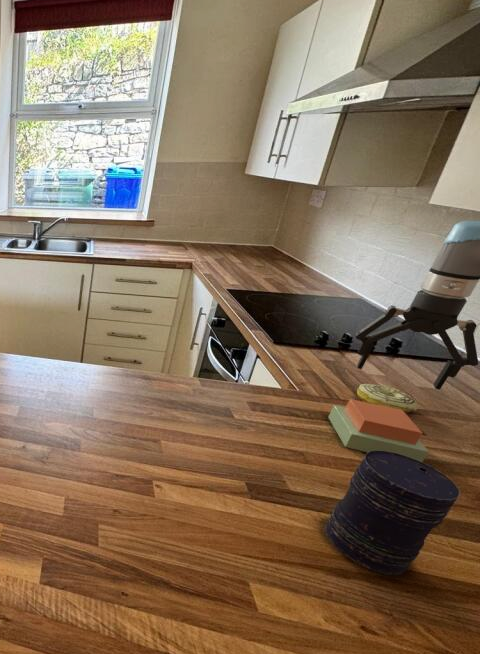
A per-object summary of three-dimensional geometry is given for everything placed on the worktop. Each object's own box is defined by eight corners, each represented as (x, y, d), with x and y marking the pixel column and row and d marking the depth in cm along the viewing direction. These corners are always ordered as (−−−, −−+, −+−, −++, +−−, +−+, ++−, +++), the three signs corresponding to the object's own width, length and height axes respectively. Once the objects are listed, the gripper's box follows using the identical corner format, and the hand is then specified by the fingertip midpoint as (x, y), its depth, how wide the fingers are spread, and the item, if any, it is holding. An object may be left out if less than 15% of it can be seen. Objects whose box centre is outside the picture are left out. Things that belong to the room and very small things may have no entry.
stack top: (395, 421, 88) (402, 409, 87) (415, 445, 81) (422, 433, 80) (344, 409, 92) (349, 398, 91) (358, 431, 84) (364, 420, 83)
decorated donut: (425, 418, 96) (433, 404, 94) (379, 416, 96) (387, 403, 94) (385, 394, 105) (392, 381, 104) (344, 392, 105) (350, 380, 104)
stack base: (394, 432, 90) (401, 419, 89) (420, 465, 81) (429, 451, 79) (327, 417, 95) (333, 404, 94) (345, 447, 85) (352, 433, 84)
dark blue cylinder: (378, 583, 58) (431, 507, 51) (309, 527, 66) (347, 456, 60) (424, 565, 60) (479, 492, 54) (351, 514, 69) (392, 445, 63)
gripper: (368, 284, 93) (330, 364, 102) (538, 313, 79) (476, 403, 88) (367, 278, 98) (331, 354, 107) (526, 303, 84) (469, 389, 93)
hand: (396, 376), depth 97 cm, fingers open, 13 cm apart
